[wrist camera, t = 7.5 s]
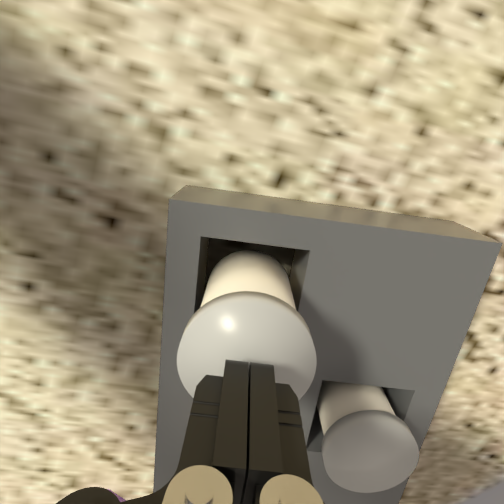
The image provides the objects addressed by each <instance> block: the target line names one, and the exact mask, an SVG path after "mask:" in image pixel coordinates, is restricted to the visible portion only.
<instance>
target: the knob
mask: <svg viewBox="0 0 504 504" xmlns="http://www.w3.org/2000/svg"><path fill="white" fill-rule="evenodd" d="M226 359H227V360H235V361H244V362H249V365H250V362H253V363H261V364H269V365H274V373H275V383H282V384H289V385H290V386H291V388H292V389H293V391H294V392H295V394H296V395H297V397H298V400H300V399H301V397H302V396H303V395H304V394H305V393H306V391H307V390H308V389H309V387H310V385H311V383H312V381H313V378H314V375H315V372H316V365H317V358H316V351H315V347H314V344H313V340H312V337H311V333H310V330H309V328H308V326H307V324H306V322H305V320H304V319H303V317H302V316H301V315H300V314H299V313H298V312H297V311H296V307H295V303H294V299H293V295H292V291H291V286H290V282H289V278H288V275H287V273H286V271H285V269H284V268H283V266H282V265H281V264H280V263H279V262H278V261H277V260H276V259H275V258H273V257H272V256H270V255H268V254H266V253H264V252H260V251H256V250H242V251H237V252H234V253H231V254H229V255H227V256H226V257H224V258H223V259H221V260H220V261H219V262H218V263H217V264H216V265H215V267H214V268H213V270H212V272H211V274H210V277H209V280H208V284H207V287H206V290H205V294H204V297H203V300H202V304H201V307H200V308H199V309H198V310H197V311H196V312H195V313H194V314H193V316H192V317H191V318H190V320H189V321H188V323H187V325H186V327H185V330H184V333H183V336H182V339H181V341H180V345H179V348H178V353H177V368H178V373H179V376H180V379H181V381H182V383H183V386H184V387H185V389H186V390H187V392H188V393H189V394H190V395H191V396H192V397H193V398H194V394H195V390H196V386H197V385H198V383H199V382H200V381H201V380H202V379H203V378H204V376H205V375H214V376H222V377H223V375H224V367H225V360H226Z"/></svg>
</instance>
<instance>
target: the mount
mask: <svg viewBox="0 0 504 504" xmlns="http://www.w3.org/2000/svg"><path fill="white" fill-rule="evenodd" d="M209 238H217V239H225V240H233V241H240V242H248V243H256V244H263V245H271V246H279V247H287V248H294V249H295V253H294V258H293V263H292V269H291V274H290V279H289V282H290V286H291V291H292V295H293V299H294V303H295V307H296V311H297V312H298V313H299V314H300V315H301V316H302V317H303V319H304V320H305V322H306V324H307V326H308V328H309V330H310V333H311V337H312V340H313V344H314V347H315V351H316V358H317V365H316V372H315V375H314V378H313V381H312V383H311V385H310V387H309V389H308V390H307V391H306V393H305V394H304V395H303V396H302V397H301V399H300V400H298V401H299V407H300V416H301V419H302V428H303V431H304V437H305V443H306V449H307V455H308V461H309V467H310V473H311V479H312V483H313V486H314V488H315V489H316V491H317V492H318V493H319V495H320V497H321V499H322V501H323V502H324V503H325V504H399V501H400V499H401V496H402V494H403V491H404V489H405V486H406V484H407V481H408V479H409V477H408V478H407V479H406V480H404V481H403V482H402V483H400V484H398V485H397V486H395V487H392V488H390V489H387V490H384V491H380V492H373V493H360V492H354V491H350V490H347V489H344V488H342V487H340V486H339V485H337V484H336V483H334V482H333V481H332V480H331V478H330V477H329V476H328V474H327V472H326V469H325V466H324V461H323V456H322V451H321V444H322V440H323V437H324V434H323V430H322V426H321V422H320V417H319V413H318V409H317V400H318V396H319V392H320V388H321V384H322V380H326V381H335V382H343V383H352V384H361V385H370V386H379V387H382V389H383V391H384V393H385V395H386V397H387V399H388V401H389V403H390V405H391V407H392V409H393V411H394V413H395V415H396V416H397V417H399V418H400V419H401V420H403V421H404V422H405V424H406V425H407V426H408V428H409V429H410V431H411V433H412V435H413V437H414V439H415V441H416V443H417V445H418V449H419V451H420V449H421V446H422V444H423V441H424V439H425V436H426V434H427V431H428V429H429V426H430V424H431V421H432V419H433V416H434V413H435V411H436V408H437V406H438V403H439V401H440V398H441V396H442V393H443V391H444V388H445V386H446V383H447V381H448V378H449V376H450V373H451V371H452V368H453V366H454V363H455V361H456V358H457V356H458V353H459V351H460V348H461V346H462V343H463V341H464V338H465V336H466V333H467V331H468V328H469V326H470V323H471V321H472V318H473V316H474V313H475V311H476V308H477V306H478V303H479V301H480V298H481V296H482V293H483V291H484V288H485V286H486V283H487V281H488V278H489V276H490V273H491V271H492V268H493V266H494V263H495V261H496V258H497V256H498V253H499V251H500V248H501V246H502V243H500V242H498V241H496V240H494V239H492V238H489V237H487V236H485V235H483V234H480V233H478V232H476V231H474V230H472V229H469V228H467V227H465V226H463V225H460V224H458V223H456V222H454V221H447V220H440V219H432V218H425V217H418V216H410V215H403V214H395V213H388V212H381V211H373V210H366V209H358V208H351V207H344V206H336V205H329V204H321V203H314V202H307V201H299V200H292V199H284V198H277V197H270V196H262V195H255V194H248V193H240V192H233V191H225V190H218V189H211V188H203V187H196V186H188V185H186V186H185V187H183V188H182V189H181V190H180V191H178V192H177V193H176V194H175V195H173V196H172V197H171V198H170V199H169V209H168V228H167V246H166V265H165V284H164V302H163V321H162V340H161V358H160V377H159V396H158V414H157V433H156V451H155V470H154V489H153V493H154V492H156V491H158V490H159V489H161V488H162V487H163V486H165V485H166V484H167V483H168V482H169V481H170V480H171V478H172V477H173V475H174V474H175V472H176V470H177V467H178V464H179V460H180V455H181V451H182V446H183V442H184V438H185V433H186V429H187V425H188V420H189V416H190V411H191V407H192V403H193V397H192V396H191V395H190V394H189V393H188V392H187V390H186V389H185V387H184V386H183V383H182V381H181V379H180V376H179V373H178V368H177V353H178V348H179V345H180V341H181V339H182V336H183V333H184V330H185V327H186V325H187V323H188V321H189V320H190V318H191V317H192V316H193V314H194V313H195V312H196V311H197V310H198V309H199V308H200V307H201V304H202V300H203V297H204V284H205V274H206V264H207V253H208V243H209Z"/></svg>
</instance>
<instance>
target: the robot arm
mask: <svg viewBox="0 0 504 504" xmlns="http://www.w3.org/2000/svg"><path fill="white" fill-rule="evenodd" d="M56 504H325V503H324V502H323V501H322V499H321V497H320V495H319V493H318V492H317V491H316V489H315V488H314V486H313V483H312V479H311V473H310V467H309V461H308V455H307V449H306V443H305V437H304V431H303V428H302V419H301V416H300V407H299V401H298V397H297V395H296V394H295V392H294V391H293V389H292V388H291V386H290V385H289V384H282V383H275V373H274V365H269V364H261V363H253V362H250V365H249V362H244V361H235V360H227V359H226V360H225V367H224V375H223V377H222V376H214V375H205V376H204V378H203V379H202V380H201V381H200V382H199V383H198V385H197V386H196V390H195V394H194V398H193V403H192V407H191V411H190V416H189V420H188V425H187V429H186V433H185V438H184V442H183V446H182V451H181V455H180V460H179V464H178V467H177V470H176V472H175V474H174V475H173V477H172V478H171V480H170V481H169V482H168V483H167V484H166V485H165V486H163V487H162V488H161V489H159V490H158V491H156V492H154V493H152V494H150V495H147V496H144V497H140V498H136V499H132V500H128V501H123V502H120V501H119V499H118V498H117V496H116V495H115V494H114V493H112V492H111V491H109V490H107V489H104V488H100V487H89V488H84V489H81V490H78V491H76V492H73V493H71V494H70V495H68V496H66V497H65V498H63V499H62V500H60V501H59V502H58V503H56Z"/></svg>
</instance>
